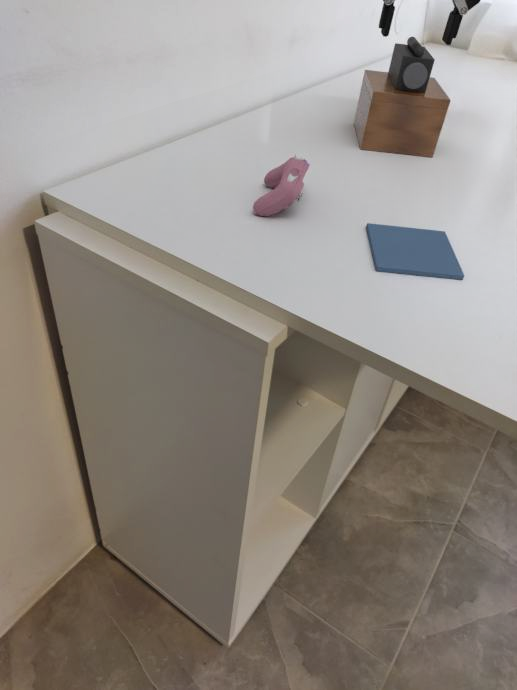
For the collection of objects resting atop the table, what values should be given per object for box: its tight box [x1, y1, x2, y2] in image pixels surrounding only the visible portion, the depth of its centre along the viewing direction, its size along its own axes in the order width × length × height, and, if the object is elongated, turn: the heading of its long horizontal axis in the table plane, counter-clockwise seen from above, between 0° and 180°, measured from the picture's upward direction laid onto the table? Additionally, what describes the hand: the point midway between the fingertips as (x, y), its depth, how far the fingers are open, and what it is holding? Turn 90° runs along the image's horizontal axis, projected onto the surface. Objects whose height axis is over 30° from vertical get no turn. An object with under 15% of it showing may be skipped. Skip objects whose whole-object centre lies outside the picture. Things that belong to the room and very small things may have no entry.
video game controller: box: [252, 154, 310, 217], centre depth 69 cm, size 10×5×7 cm, turn 170°
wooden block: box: [353, 69, 452, 158], centre depth 89 cm, size 12×12×9 cm
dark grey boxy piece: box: [387, 36, 435, 93], centre depth 84 cm, size 5×10×6 cm, turn 178°
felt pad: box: [365, 222, 465, 281], centre depth 64 cm, size 10×10×1 cm
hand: (415, 38), depth 82 cm, fingers open, 9 cm apart
